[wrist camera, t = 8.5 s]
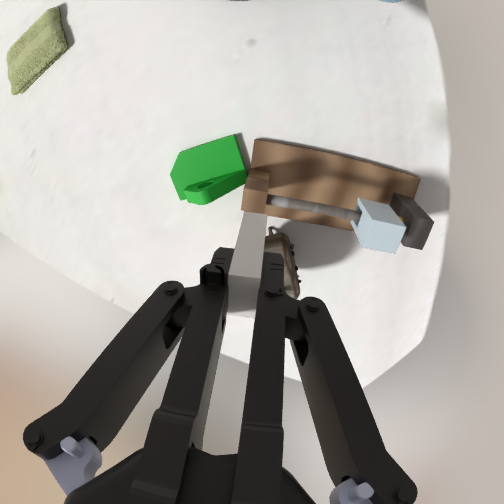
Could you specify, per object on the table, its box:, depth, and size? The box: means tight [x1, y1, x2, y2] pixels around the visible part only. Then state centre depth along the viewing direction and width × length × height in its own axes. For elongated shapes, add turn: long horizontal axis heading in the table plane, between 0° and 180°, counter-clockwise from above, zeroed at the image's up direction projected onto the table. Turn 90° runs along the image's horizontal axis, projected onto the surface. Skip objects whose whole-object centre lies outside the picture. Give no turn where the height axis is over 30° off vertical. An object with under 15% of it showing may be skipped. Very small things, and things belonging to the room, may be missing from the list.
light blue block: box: [351, 198, 406, 254], centre depth 36 cm, size 5×4×7 cm
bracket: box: [170, 134, 248, 205], centre depth 42 cm, size 12×8×7 cm, turn 107°
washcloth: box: [7, 7, 68, 95], centre depth 30 cm, size 13×18×3 cm
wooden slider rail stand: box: [241, 139, 434, 250], centre depth 40 cm, size 28×12×10 cm, turn 82°
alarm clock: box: [264, 227, 301, 299], centre depth 44 cm, size 11×5×16 cm, turn 16°
